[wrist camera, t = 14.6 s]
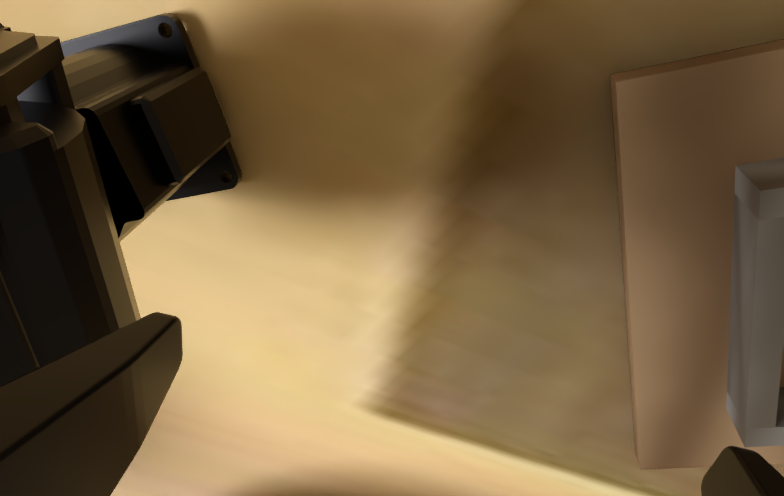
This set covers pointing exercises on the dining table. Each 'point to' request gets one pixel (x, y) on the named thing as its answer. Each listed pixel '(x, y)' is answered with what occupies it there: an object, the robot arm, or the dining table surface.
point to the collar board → (703, 253)
